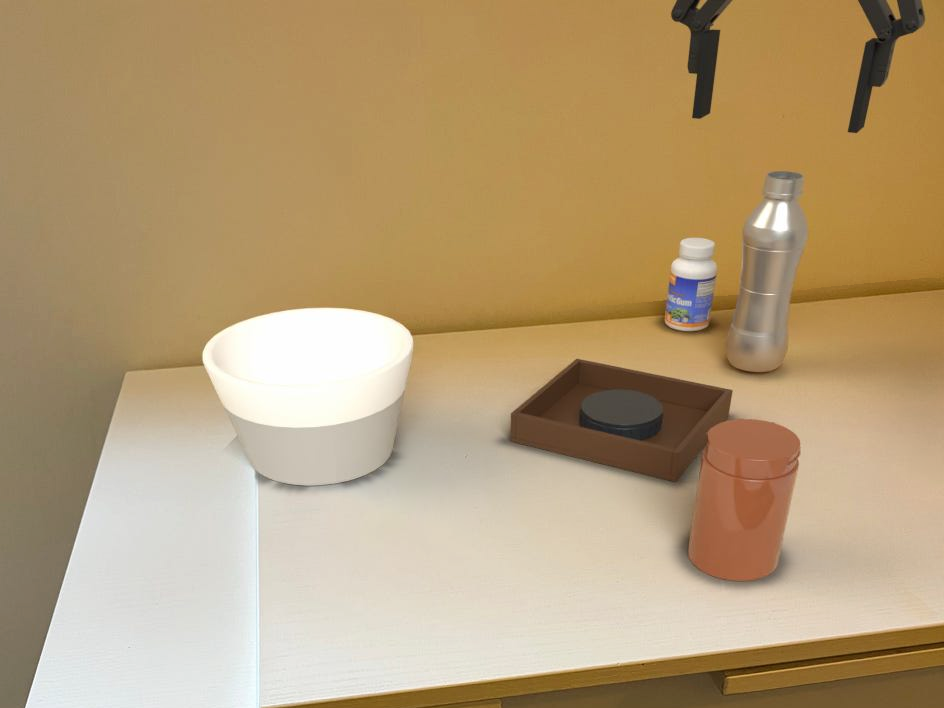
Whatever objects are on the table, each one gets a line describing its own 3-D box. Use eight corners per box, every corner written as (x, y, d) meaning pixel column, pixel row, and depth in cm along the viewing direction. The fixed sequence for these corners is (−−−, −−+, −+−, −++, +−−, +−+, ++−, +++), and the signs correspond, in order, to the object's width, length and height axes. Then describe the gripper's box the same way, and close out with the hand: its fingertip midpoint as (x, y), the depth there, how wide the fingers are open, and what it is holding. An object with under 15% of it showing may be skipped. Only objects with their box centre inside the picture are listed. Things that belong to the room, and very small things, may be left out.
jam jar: (788, 546, 82) (814, 429, 76) (762, 590, 77) (788, 470, 71) (704, 524, 85) (722, 410, 79) (675, 566, 80) (691, 447, 74)
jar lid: (565, 431, 98) (566, 413, 97) (599, 400, 104) (600, 383, 103) (642, 450, 95) (644, 431, 94) (673, 416, 101) (675, 399, 99)
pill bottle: (655, 322, 122) (663, 241, 116) (686, 313, 124) (696, 232, 118) (686, 336, 119) (697, 252, 112) (718, 325, 121) (730, 243, 115)
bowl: (185, 486, 92) (161, 376, 85) (271, 399, 106) (256, 299, 100) (381, 512, 88) (372, 398, 81) (443, 418, 102) (439, 315, 96)
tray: (728, 417, 101) (732, 389, 99) (675, 482, 91) (679, 452, 89) (575, 384, 108) (576, 358, 106) (510, 441, 98) (510, 413, 96)
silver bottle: (774, 383, 107) (811, 186, 95) (714, 372, 110) (742, 179, 98) (790, 362, 112) (828, 171, 99) (732, 352, 115) (761, 164, 102)
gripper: (649, -190, 76) (626, 118, 89) (1003, -204, 66) (917, 145, 79) (684, -188, 81) (656, 103, 94) (1016, -201, 71) (934, 127, 84)
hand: (775, 123), depth 87 cm, fingers open, 13 cm apart
